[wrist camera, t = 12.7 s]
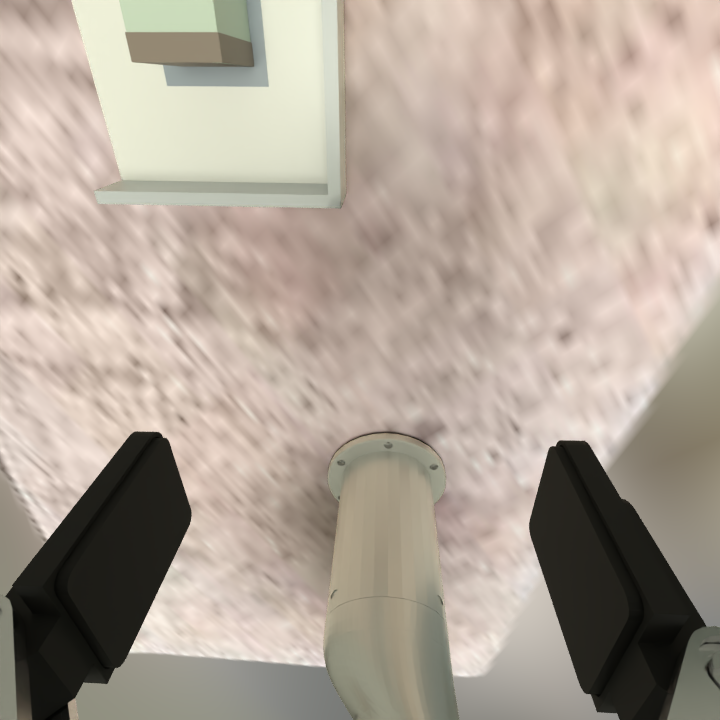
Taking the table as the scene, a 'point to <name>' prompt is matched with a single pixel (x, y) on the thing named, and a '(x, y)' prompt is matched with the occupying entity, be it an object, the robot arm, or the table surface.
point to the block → (188, 32)
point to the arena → (227, 113)
